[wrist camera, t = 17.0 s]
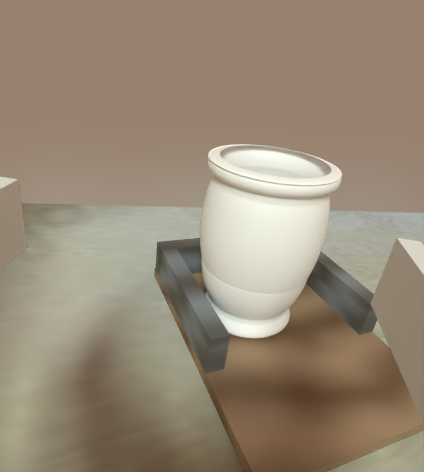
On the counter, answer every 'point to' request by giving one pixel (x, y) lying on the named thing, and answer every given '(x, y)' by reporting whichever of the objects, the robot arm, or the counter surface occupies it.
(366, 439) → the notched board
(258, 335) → the jar
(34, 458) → the counter surface
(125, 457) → the counter surface
